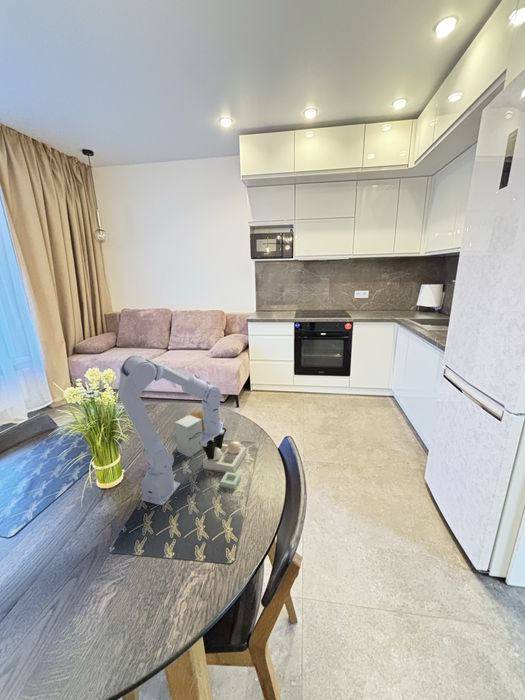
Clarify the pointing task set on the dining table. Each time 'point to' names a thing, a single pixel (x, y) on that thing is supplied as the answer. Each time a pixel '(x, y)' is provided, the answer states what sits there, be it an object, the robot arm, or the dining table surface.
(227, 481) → the mint square frame
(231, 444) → the brown egg
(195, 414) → the potato
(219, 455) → the cream egg
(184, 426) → the supplement box
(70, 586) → the dining table surface
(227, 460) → the carton
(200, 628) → the dining table surface
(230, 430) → the dining table surface
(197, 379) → the robot arm
